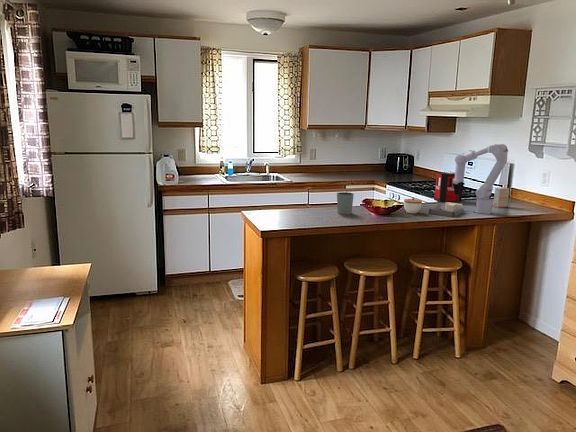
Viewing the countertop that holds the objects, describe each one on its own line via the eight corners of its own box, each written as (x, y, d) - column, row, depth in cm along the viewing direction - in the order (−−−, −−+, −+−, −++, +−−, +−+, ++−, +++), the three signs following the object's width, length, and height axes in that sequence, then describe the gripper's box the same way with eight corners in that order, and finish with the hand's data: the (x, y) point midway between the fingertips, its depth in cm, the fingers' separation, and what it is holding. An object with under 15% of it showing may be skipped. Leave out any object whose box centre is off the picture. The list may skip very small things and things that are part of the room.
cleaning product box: (439, 202, 339) (442, 173, 335) (433, 199, 347) (436, 172, 343) (461, 202, 341) (464, 174, 337) (455, 199, 350) (458, 172, 346)
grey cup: (350, 215, 283) (351, 195, 281) (333, 213, 287) (334, 193, 284) (354, 212, 293) (355, 192, 290) (338, 210, 296) (339, 191, 294)
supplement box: (502, 205, 331) (504, 187, 328) (507, 207, 327) (509, 188, 324) (492, 206, 328) (494, 187, 326) (497, 207, 324) (499, 188, 321)
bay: (463, 212, 304) (463, 207, 303) (454, 217, 287) (454, 212, 287) (438, 208, 312) (439, 204, 312) (428, 213, 296) (429, 208, 295)
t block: (461, 210, 311) (462, 204, 310) (457, 212, 303) (458, 206, 302) (446, 208, 316) (446, 202, 316) (441, 210, 308) (442, 204, 307)
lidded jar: (404, 210, 305) (405, 195, 303) (421, 211, 301) (423, 197, 299) (402, 213, 295) (403, 198, 293) (419, 214, 291) (421, 199, 289)
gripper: (456, 171, 321) (454, 192, 324) (450, 173, 309) (448, 194, 312) (467, 172, 317) (465, 193, 320) (461, 174, 305) (459, 195, 308)
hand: (457, 193), depth 316 cm, fingers open, 5 cm apart
